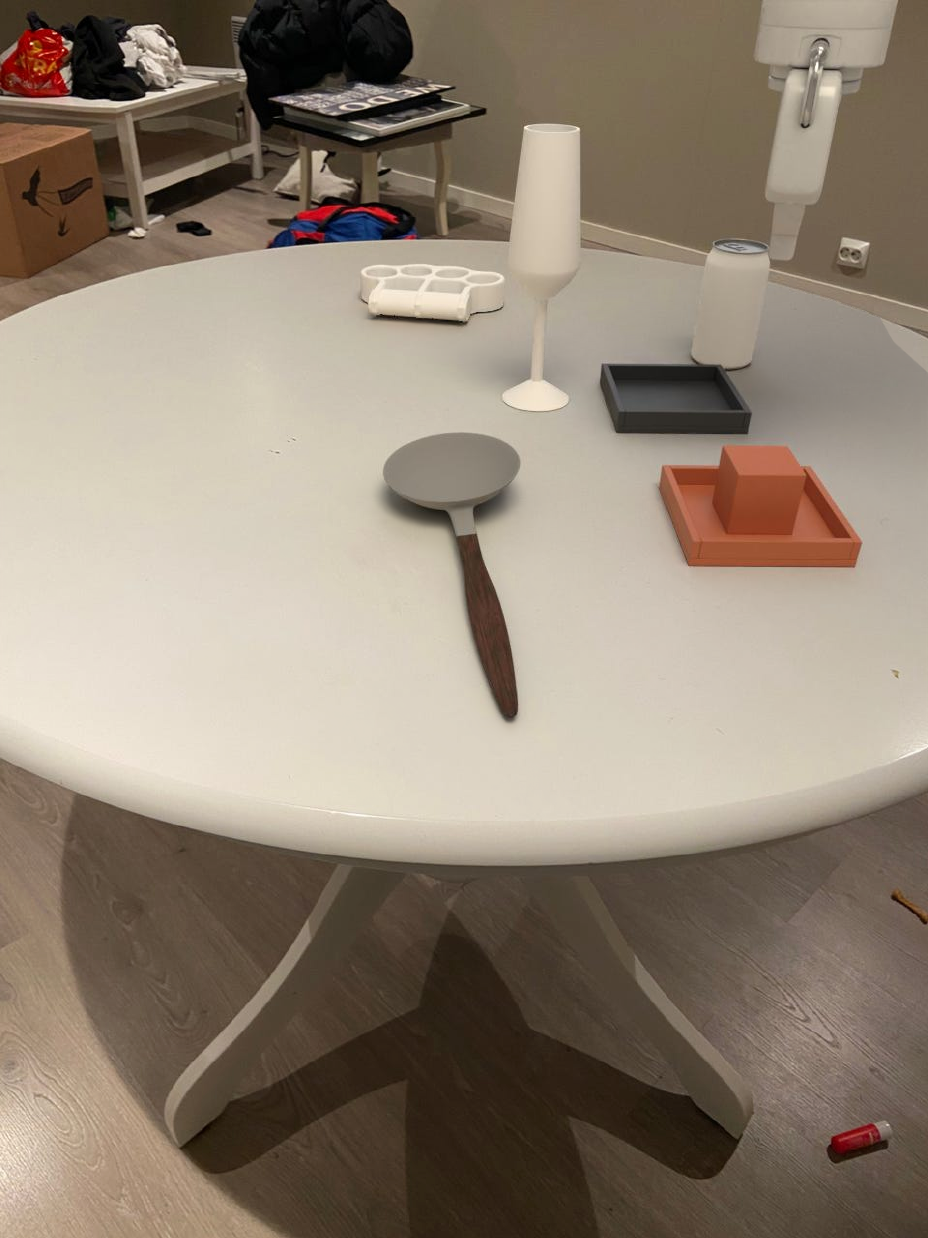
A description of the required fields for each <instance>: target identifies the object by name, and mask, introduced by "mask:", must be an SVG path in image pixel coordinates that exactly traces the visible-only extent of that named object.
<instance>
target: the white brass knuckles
mask: <svg viewBox="0 0 928 1238" xmlns="http://www.w3.org/2000/svg"><path fill="white" fill-rule="evenodd" d="M359 274H360V275H359V276H360V295H361V294H362V295H364V296H366V297H368V298H369V302H368V303H367V305H368V306H367V307H368V308H367V309H368V312H369V313H370V314H372V315H373V316H376V315H379V314H382V315H383V316H394V315H395V316H396V317H407V318H416V319H417V318H422V319H432V318H433V320H448V321H459V322H460V321H463V322H462V323H465V322H468V321H469V320H470V318H469V317H471V315H470V314H471V311H473V310H476V309H486V308H492V307H495V306H498V305H500V304H501V303H503V301H504V302H505V286H506V285H505V284H506V283H505V282H506V279H505V276H503V275H502V274H501V273H498V272H495V271H481V270H473V269H469V268H467V267H463V266H456V265H433V264H427V263H410V264H403V265H389V264H373V265H370V266H366V267H364V268H362V269H361V271H360V273H359ZM468 319H469V320H468Z"/></svg>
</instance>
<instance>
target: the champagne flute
mask: <svg viewBox="0 0 928 1238" xmlns="http://www.w3.org/2000/svg"><path fill="white" fill-rule="evenodd" d="M515 187H516V188H515V194H514V202H513V209H512V219H511V226H510V232H509V233H510V234H509V242H508V249H507V250H508V251H507V257H506V264H507V267H508V270H509V272H510V274H511V276H512V277H513V279H514V280H515V282H516V283H517V285H518V286H519V287H521V289H522V290H523V291H524V292H525V293H526V294H528V296H530V297H531V298H533V299H534V313H533V314H534V315H533V331H532V347H531V348H532V349H531V351H532V352H531V365H530V366H531V367H530V378H529V379H527V380H525V381H523V382H521V383H519V384H517V385H515V386H513V387H511V388H509V389H507V390H505V391H504V392H503V393H502V395H501V399H502V401H503V402H504V403H505V404H506V405H508V406H510V407H512V408H514V409H517V410H520V411H521V410H522V411H528V412H548V411H549V412H550V411H555V410H559V409H562V408H563V407H565V406H567V405H568V404H569V401H570V397H569V395H568V394H567V393H565V392H564V391H563V390H561V389H559V388H557V386H555V385H553V384H551V383H549V382H548V381H547V380H545V379H544V364H545V347H546V336H547V335H546V331H547V317H548V303H549V302H548V301H549V300H550V299H552V298H553V297H555V296H557V295H558V294H559V293H560V292H561V291H562V290H563V289H565V288H566V287H567V286H568V285H569V284H571V282H572V281H573V279H574V278H575V277H576V275H577V274H578V272H579V270H580V267H581V265H582V245H581V243H582V241H581V237H582V235H581V233H582V232H581V225H582V223H581V128H580V127H578V126H575V125H570V124H562V123H561V124H560V123H536V124H534V123H533V124H528V125H525V126H524V127H523V132H522V140H521V148H520V155H519V163H518V172H517V179H516V186H515Z"/></svg>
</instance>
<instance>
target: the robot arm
mask: <svg viewBox="0 0 928 1238" xmlns="http://www.w3.org/2000/svg"><path fill="white" fill-rule="evenodd" d="M898 3H899V0H762V2H761V8H760V14H759V21H758V26H757V34H756V40H755V46H754V52H753V60H754V61H755V62H756V63H759V64H764V65H770V66H769V71H768V74H769V76H768V77H767V84H766V87H767V89H769V90H772V91H774V92H775V91H776V92H780V101H779V106H778V107H779V108H778V113H777V118H776V123H775V124H776V125H775V129H774V133H773V141H772V145H771V151H770V157H769V163H768V168H767V174H766V180H765V186H764V197H765V200H766V201H767V202H769V203H774V207H773V211H772V212H773V213H772V224H771V236H770V241H769V245H768V246H769V250H768V257H769V259H771V260H773V261H785V262H787V261H791V260H792V259H793V257H794V255H795V250H796V247H797V246H796V245H797V241H798V236H799V233H800V230H801V226H802V222H803V220H804V215H805V212H806V207H807V206H810V205H811V206H812V205H816V203H817V202H818V201H819V199H820V197H821V194H822V191H823V188H824V187H823V186H824V183H825V177H826V172H827V167H828V163H829V162H828V161H829V158H830V152H831V147H832V143H833V137H834V132H835V127H836V123H837V117H838V113H839V108H840V104H841V101H842V98H843V95H850V94H854V93H858V92H859V91H860V88H861V83H862V78H863V74H864V69H871V68H877V67H881V66H882V65H884V63H885V61H886V56H887V52H888V47H889V43H890V38H891V34H892V30H893V26H894V22H895V21H894V20H895V17H896V12H897V8H898Z"/></svg>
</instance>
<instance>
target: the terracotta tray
mask: <svg viewBox="0 0 928 1238" xmlns="http://www.w3.org/2000/svg"><path fill="white" fill-rule="evenodd" d="M800 466H801V467H802V469H803V470H804V472H805V473H806V475H807V476H806V480H805V484H804V488H803V492H802V496H801V500H800V504H799V509H798V513H797V517H796V521H795V525H794V529H793V533H792V534H727V533H726V531H725V529H724V527H723V524H722V522H721V520H720V518H719V516H718V514H717V512H716V509H715V507H714V505H713V503H712V501H713V496H714V490H715V485H716V480H717V474H718V469H719V464H718V465H717V464H716V465H715V464H714V465H709V464H707V465H705V464H704V465H703V464H701V465H699V464H681V465H680V464H670V465H669V464H662V465H661V472H660V478H659V481H660V482H659V486H658V488H659V491H660V493H661V496H662V500H663V501H664V504H665V506H666V509H667V511H668V515H669V517H670V520H671V523H672V525H673V528H674V531H675V533H676V536H677V538H678V540H679V543H680V546H681V548H682V549H681V550H682V551H683V554H684V556H685V560H686V561H687V565H688V566H689V567H690V566H691V567H692V566H693V567H698V566H699V567H833V568H835V567H839V568H840V567H841V568H842V567H843V568H845V567H846V568H850V567H852V568H853V567H856V565H857V561H858V558H859V555H860V552H861V548H862V545H863V541H862V539H861V538H860V536H859V535H858V534H857V532H856V531H855V529H854V528H853V526H852V525H851V523H850V522H849V520H848V519H847V518H846V516H845V515H844V513H843V512H842V511H841V509H840V508H839V506H838V505H837V503H836V501H835V500H834V499H833V497H832V495H831V494H830V492H828V490H827V488H826V487H825V485H824V484H823V483H822V481H821V480H820V478H819V477H818V475H817V474H816V472H815V471H814V469H813V468H812V467H811V466H810V465H800Z"/></svg>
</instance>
